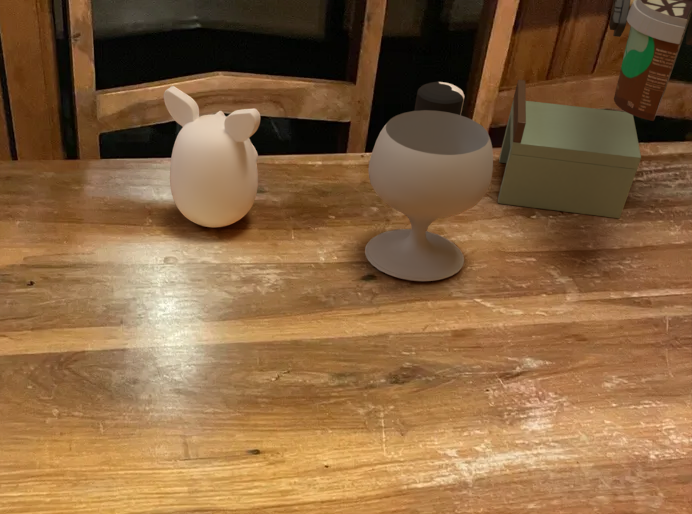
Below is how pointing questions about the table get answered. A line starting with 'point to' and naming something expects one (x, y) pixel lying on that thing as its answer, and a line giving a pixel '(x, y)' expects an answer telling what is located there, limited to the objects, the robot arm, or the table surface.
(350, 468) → the table surface
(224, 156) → the piggy bank
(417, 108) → the medicine bottle
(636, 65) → the food container
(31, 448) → the table surface
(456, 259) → the chalice
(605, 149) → the sage green lidded box
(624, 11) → the robot arm
